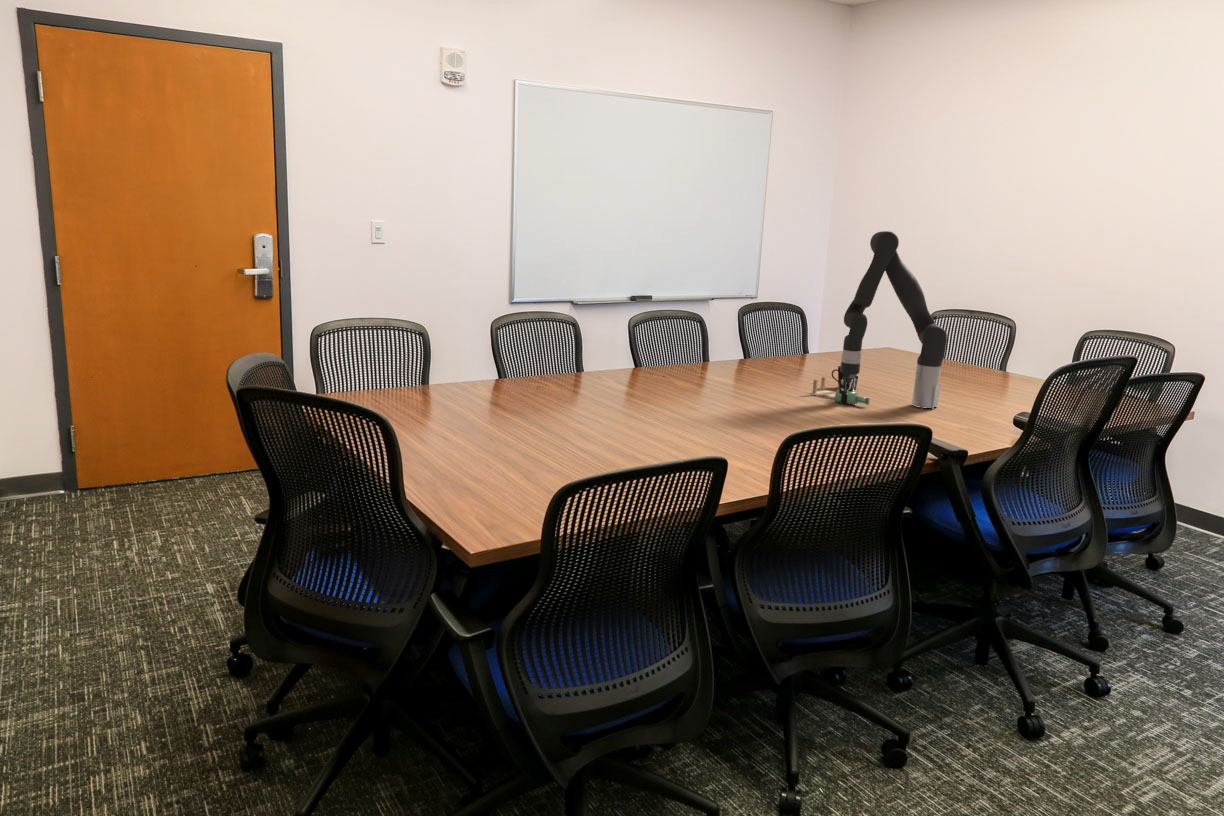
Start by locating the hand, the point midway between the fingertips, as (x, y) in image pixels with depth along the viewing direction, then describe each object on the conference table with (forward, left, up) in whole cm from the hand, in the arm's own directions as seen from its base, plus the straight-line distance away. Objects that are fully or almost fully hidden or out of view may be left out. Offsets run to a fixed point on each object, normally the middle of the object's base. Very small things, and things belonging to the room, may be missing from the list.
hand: (846, 402), depth 352 cm
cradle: (+10, -9, -1) cm, 14 cm away
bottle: (-3, 0, -1) cm, 3 cm away
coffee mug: (+13, -27, -1) cm, 30 cm away
